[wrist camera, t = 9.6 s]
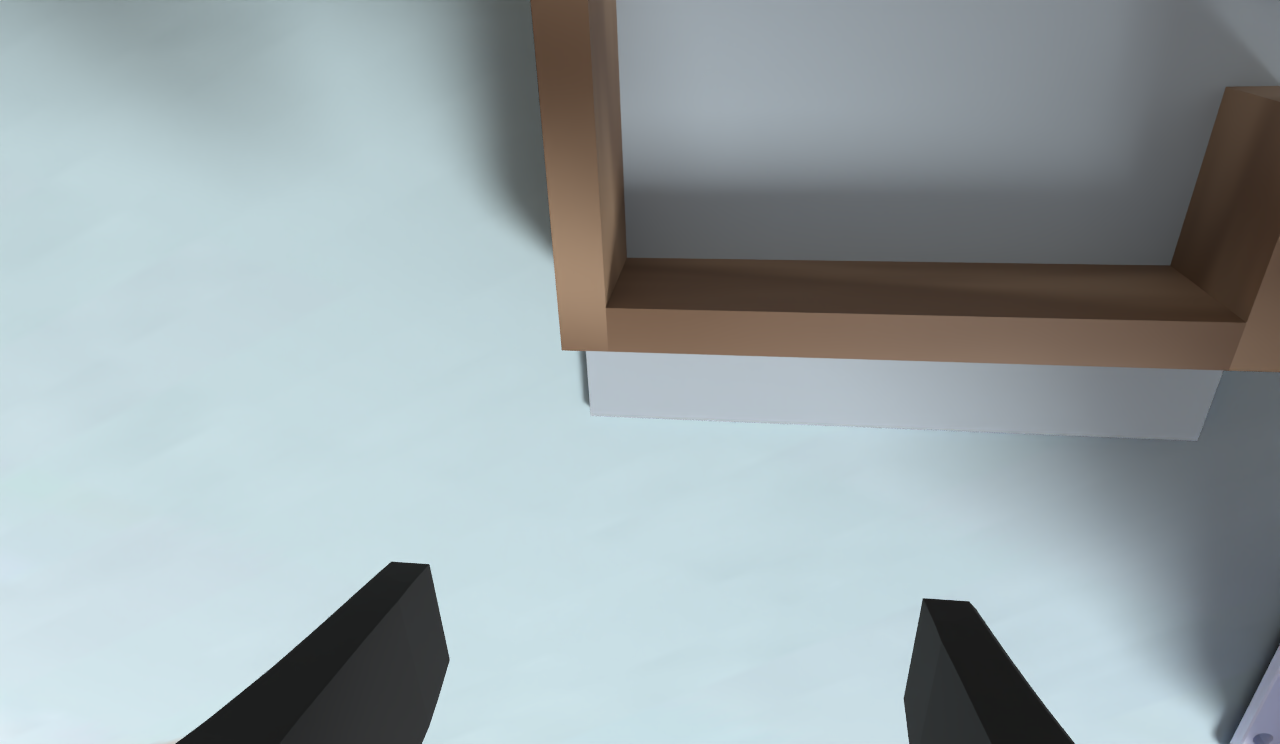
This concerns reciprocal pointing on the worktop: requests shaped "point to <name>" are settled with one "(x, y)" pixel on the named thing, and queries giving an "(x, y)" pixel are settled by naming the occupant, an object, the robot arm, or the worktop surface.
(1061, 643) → the worktop surface
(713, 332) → the wooden frame
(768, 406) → the mat
